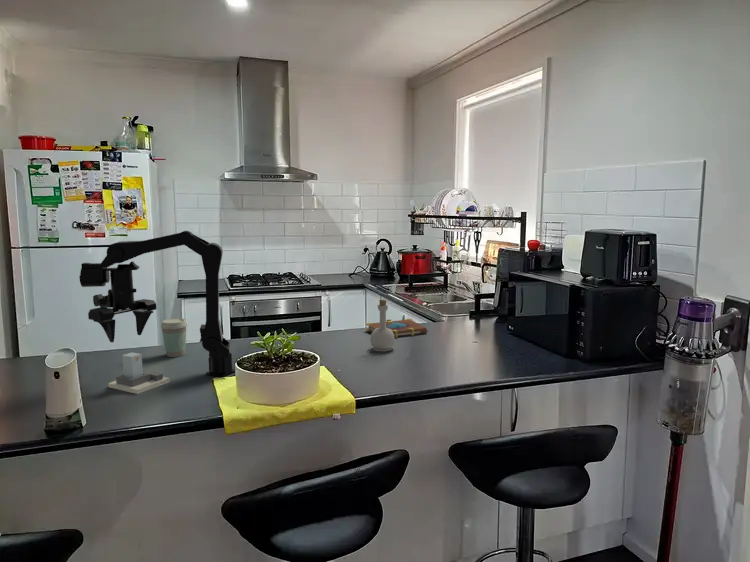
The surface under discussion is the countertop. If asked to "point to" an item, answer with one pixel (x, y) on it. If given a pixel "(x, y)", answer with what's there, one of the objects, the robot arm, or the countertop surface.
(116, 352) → the countertop surface
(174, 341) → the coffee cup
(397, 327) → the book
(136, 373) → the plug
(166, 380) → the board
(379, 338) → the potion bottle
